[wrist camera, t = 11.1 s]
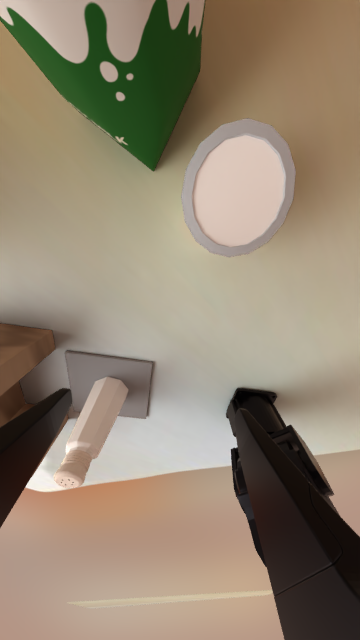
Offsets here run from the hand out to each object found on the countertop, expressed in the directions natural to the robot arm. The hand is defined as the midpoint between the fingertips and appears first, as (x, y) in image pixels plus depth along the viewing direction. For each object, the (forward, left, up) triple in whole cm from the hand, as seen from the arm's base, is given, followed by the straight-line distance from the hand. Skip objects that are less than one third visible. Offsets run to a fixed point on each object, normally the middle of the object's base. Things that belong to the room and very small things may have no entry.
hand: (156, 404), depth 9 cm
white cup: (-3, -11, -13) cm, 18 cm away
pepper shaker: (+7, +14, -13) cm, 20 cm away
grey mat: (+7, +14, -13) cm, 21 cm away
